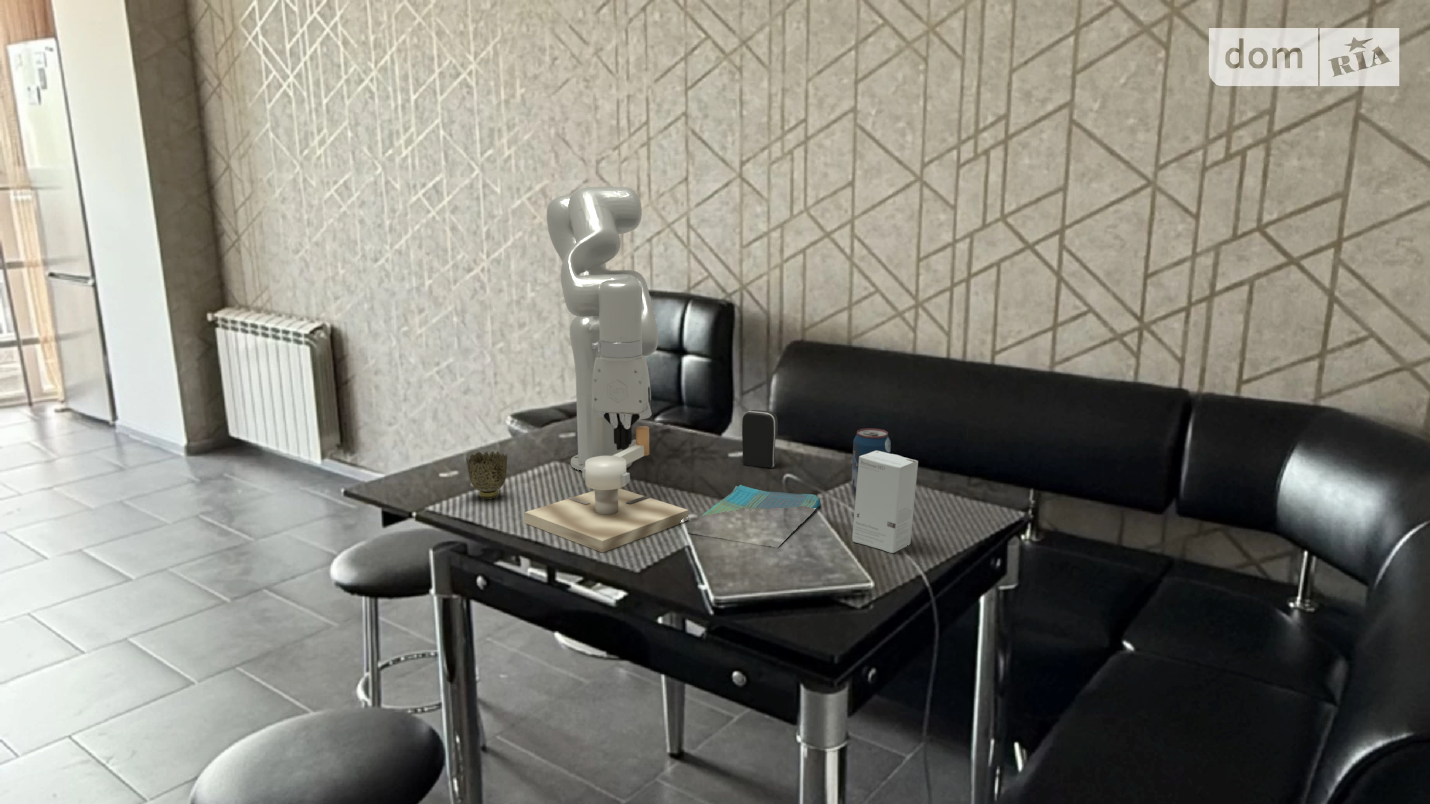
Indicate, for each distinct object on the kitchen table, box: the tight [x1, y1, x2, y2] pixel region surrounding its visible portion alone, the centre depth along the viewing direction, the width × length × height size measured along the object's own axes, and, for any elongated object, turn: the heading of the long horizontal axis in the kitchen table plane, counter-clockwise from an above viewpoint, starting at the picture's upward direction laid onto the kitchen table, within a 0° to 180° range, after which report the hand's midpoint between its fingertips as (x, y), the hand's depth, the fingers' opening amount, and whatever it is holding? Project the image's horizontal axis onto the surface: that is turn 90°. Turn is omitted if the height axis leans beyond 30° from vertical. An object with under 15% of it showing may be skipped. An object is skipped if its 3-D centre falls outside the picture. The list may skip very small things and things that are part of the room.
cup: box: [465, 450, 508, 500], centre depth 193 cm, size 8×7×8 cm
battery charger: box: [741, 409, 779, 469], centre depth 213 cm, size 7×4×11 cm, turn 66°
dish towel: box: [701, 484, 821, 516], centre depth 183 cm, size 17×23×2 cm
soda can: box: [851, 427, 892, 495], centre depth 195 cm, size 7×7×12 cm
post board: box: [524, 488, 689, 553], centre depth 180 cm, size 20×20×7 cm
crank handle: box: [581, 425, 650, 490], centre depth 183 cm, size 9×17×7 cm, turn 153°
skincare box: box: [851, 451, 919, 554], centre depth 170 cm, size 8×6×15 cm
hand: (623, 447), depth 191 cm, fingers closed
